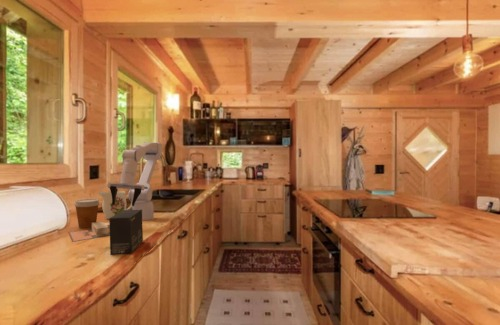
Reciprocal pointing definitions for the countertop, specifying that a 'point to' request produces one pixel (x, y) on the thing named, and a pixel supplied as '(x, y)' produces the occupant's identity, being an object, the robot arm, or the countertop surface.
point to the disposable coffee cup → (86, 212)
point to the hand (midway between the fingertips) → (123, 205)
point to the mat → (84, 235)
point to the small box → (125, 232)
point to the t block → (100, 228)
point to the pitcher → (119, 203)
